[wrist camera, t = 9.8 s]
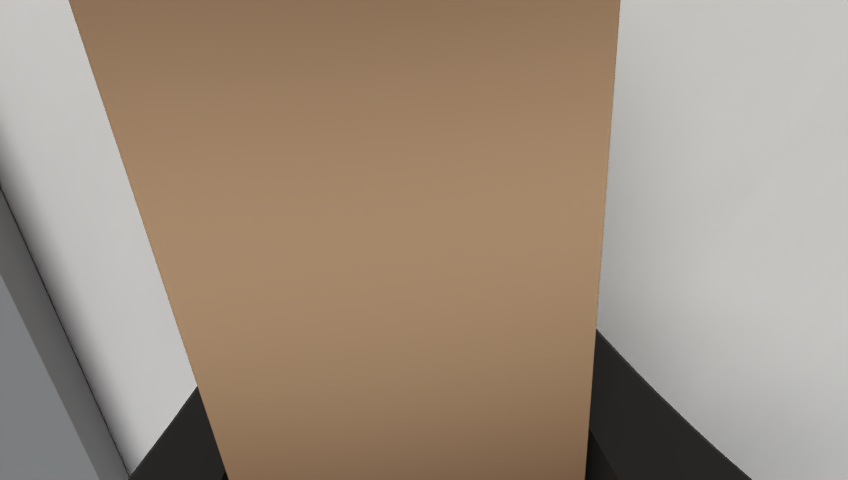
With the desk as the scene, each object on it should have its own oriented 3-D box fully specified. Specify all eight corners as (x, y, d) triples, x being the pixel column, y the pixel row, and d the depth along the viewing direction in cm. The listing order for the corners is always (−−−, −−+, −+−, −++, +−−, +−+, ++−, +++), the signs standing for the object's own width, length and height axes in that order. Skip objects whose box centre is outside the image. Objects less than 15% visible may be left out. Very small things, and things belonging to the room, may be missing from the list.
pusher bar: (494, 470, 15) (559, 812, 10) (355, 485, 15) (348, 837, 10) (475, -180, 9) (635, -177, 3) (233, -159, 8) (27, -124, 3)
